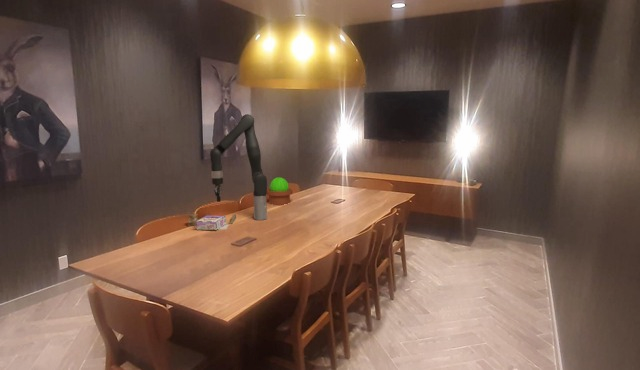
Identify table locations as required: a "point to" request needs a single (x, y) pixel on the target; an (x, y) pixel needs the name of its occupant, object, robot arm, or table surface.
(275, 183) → the potted cactus
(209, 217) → the candy box
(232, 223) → the rack
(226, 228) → the mat
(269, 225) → the table surface
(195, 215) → the offcut stack
